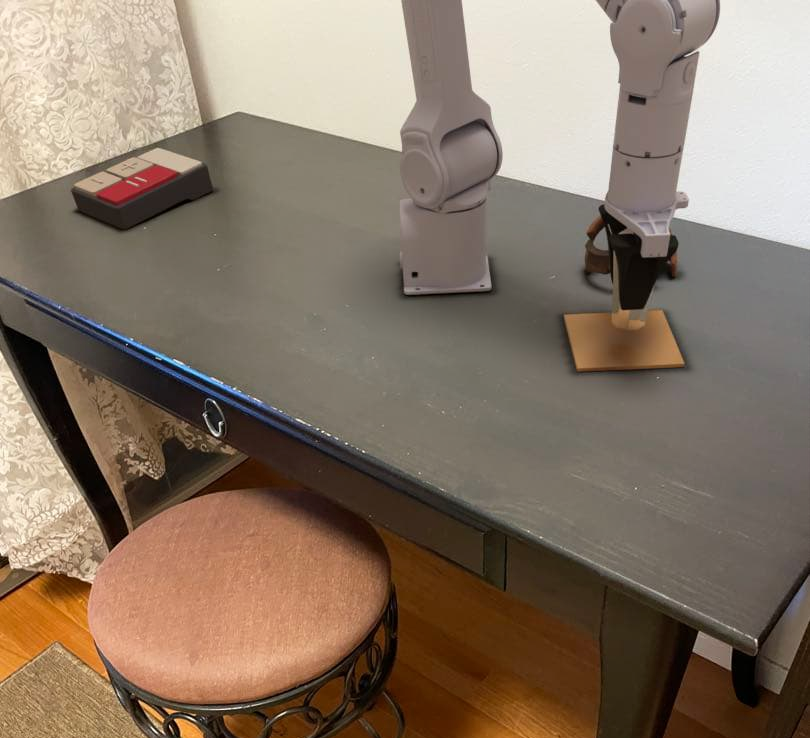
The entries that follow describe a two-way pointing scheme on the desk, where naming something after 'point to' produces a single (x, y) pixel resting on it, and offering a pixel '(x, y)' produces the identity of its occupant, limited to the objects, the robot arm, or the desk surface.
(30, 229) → the desk surface
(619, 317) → the milkshake
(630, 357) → the coaster
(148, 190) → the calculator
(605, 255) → the broken clay pot
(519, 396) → the desk surface
